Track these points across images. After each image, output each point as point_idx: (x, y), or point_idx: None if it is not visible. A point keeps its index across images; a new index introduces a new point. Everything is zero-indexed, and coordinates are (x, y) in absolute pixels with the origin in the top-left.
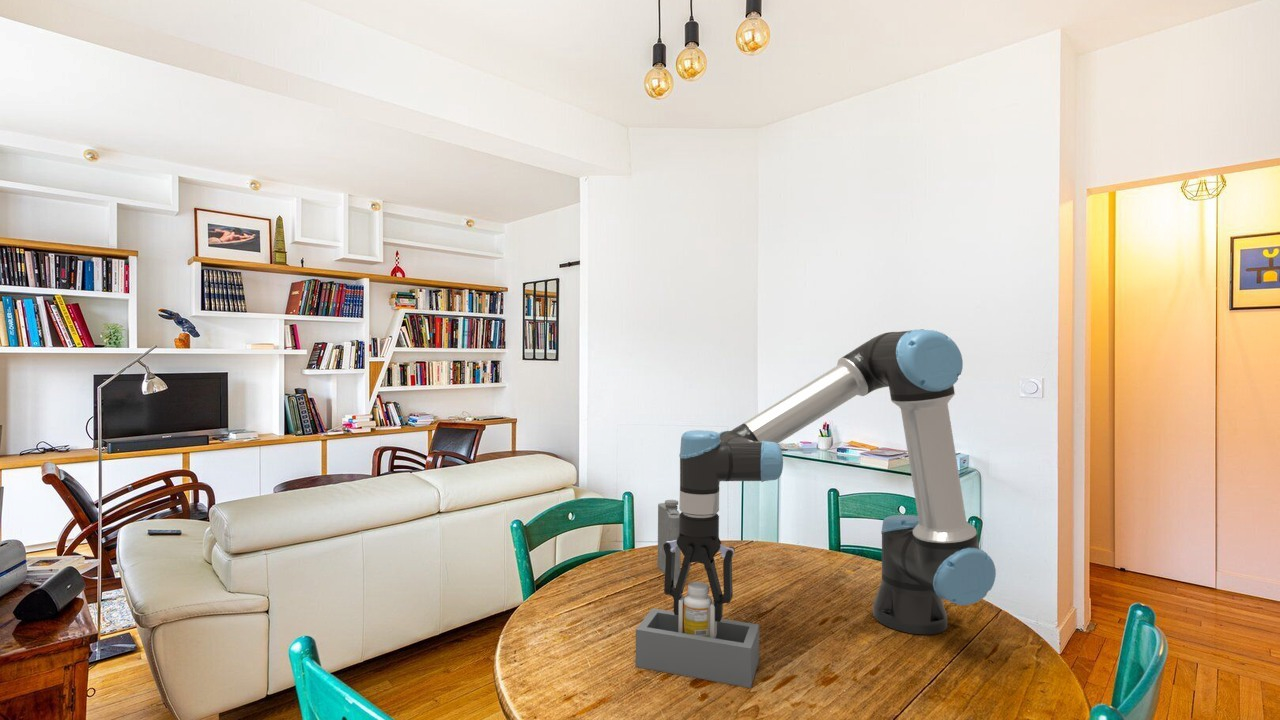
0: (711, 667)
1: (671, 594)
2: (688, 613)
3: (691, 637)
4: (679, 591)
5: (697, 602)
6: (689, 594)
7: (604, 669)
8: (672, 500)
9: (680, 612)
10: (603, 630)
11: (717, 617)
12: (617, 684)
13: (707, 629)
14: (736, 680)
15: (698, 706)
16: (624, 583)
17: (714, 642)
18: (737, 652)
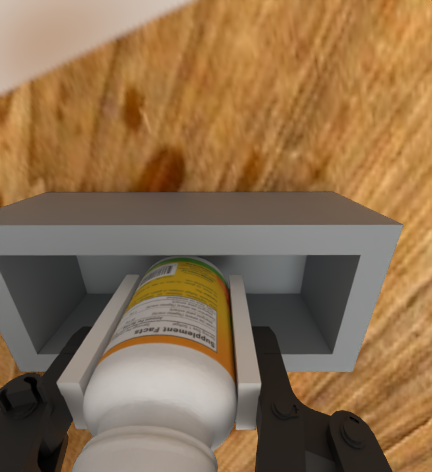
0: (129, 199)
1: (315, 418)
2: (197, 320)
3: (177, 234)
4: (268, 449)
5: (134, 379)
6: (197, 436)
7: (414, 151)
8: None
9: (243, 331)
10: (427, 314)
11: (84, 339)
12: (370, 84)
13: (135, 292)
14: (73, 194)
15: (127, 52)
16: (395, 459)
17: (83, 224)
18: (15, 217)
